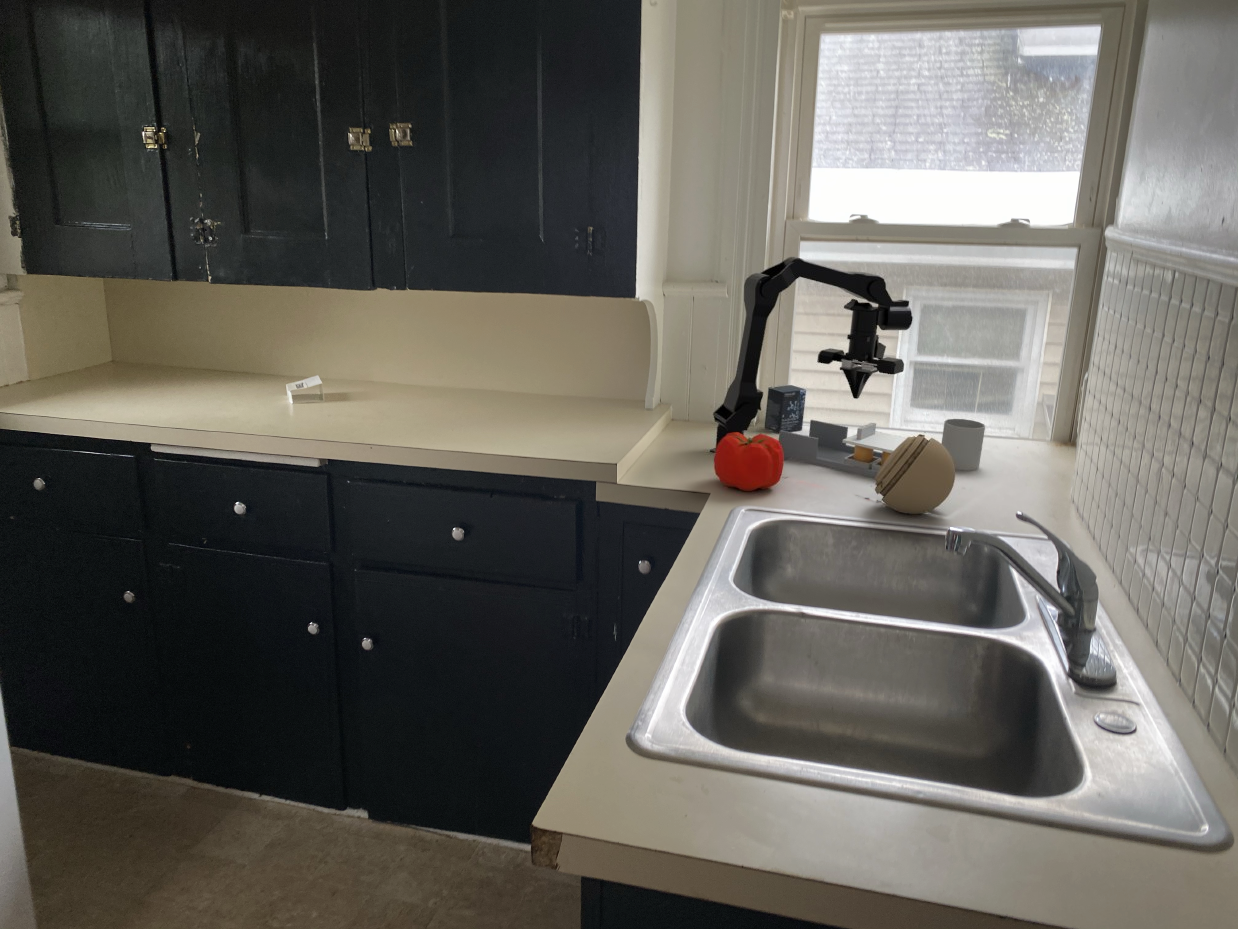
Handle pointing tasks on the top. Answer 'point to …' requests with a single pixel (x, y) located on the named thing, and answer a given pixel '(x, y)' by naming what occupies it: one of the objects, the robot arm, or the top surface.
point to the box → (785, 408)
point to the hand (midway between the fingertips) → (856, 398)
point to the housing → (827, 449)
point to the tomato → (748, 461)
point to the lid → (875, 439)
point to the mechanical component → (916, 476)
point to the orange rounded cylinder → (863, 454)
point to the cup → (963, 442)
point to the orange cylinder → (885, 457)
